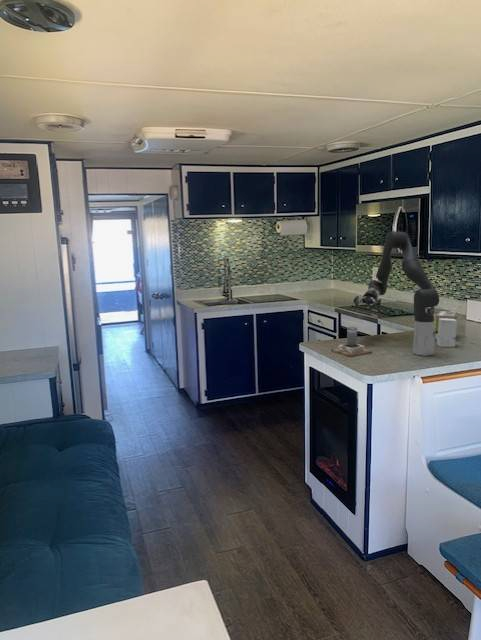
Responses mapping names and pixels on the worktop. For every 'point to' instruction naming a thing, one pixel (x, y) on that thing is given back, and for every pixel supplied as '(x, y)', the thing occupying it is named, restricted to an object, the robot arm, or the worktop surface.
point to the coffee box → (430, 310)
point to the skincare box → (446, 332)
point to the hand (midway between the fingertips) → (364, 305)
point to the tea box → (448, 316)
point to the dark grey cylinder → (352, 337)
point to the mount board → (351, 350)
